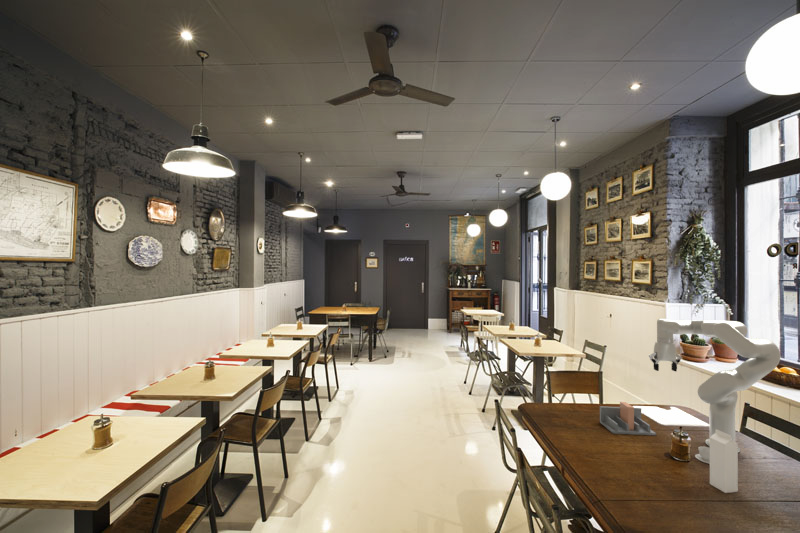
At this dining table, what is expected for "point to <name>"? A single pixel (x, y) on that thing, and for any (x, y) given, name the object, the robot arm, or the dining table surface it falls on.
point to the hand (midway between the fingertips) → (665, 370)
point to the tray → (671, 416)
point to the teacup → (703, 454)
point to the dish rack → (623, 422)
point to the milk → (723, 462)
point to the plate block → (627, 414)
